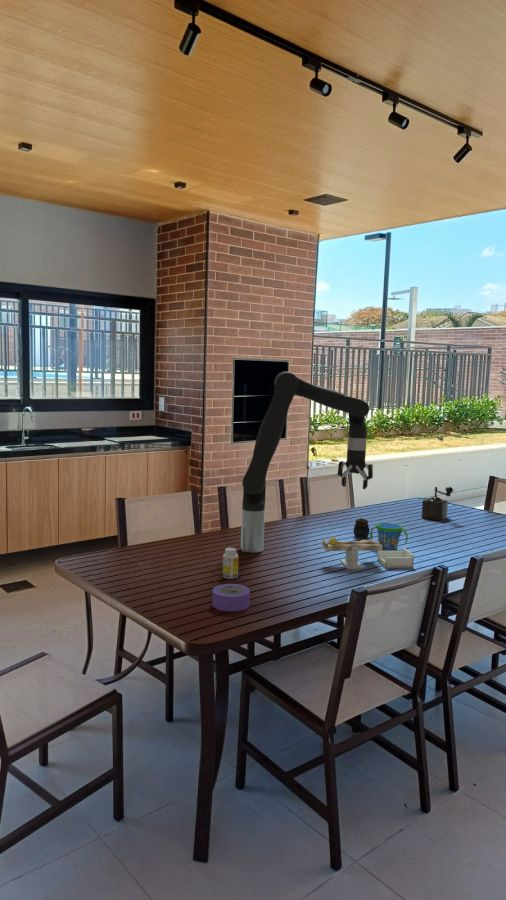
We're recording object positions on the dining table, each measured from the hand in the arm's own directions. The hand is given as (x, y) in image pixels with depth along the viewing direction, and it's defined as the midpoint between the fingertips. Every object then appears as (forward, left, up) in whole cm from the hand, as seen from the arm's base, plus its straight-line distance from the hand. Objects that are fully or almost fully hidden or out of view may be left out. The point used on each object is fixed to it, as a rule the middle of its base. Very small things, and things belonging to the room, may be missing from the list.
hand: (354, 487), depth 266 cm
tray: (+12, -19, -27) cm, 35 cm away
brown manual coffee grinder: (+63, +60, -27) cm, 91 cm away
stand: (-5, -19, -27) cm, 33 cm away
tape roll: (-55, -60, -27) cm, 86 cm away
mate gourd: (+11, +23, -27) cm, 37 cm away
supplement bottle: (-53, -32, -27) cm, 68 cm away
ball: (-13, -19, -19) cm, 30 cm away
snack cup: (+17, +3, -27) cm, 32 cm away
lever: (-5, -16, -21) cm, 26 cm away
